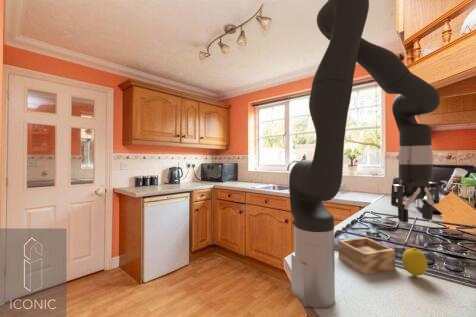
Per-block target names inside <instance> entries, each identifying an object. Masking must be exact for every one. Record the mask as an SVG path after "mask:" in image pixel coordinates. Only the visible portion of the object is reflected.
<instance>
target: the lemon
mask: <svg viewBox="0 0 476 317" xmlns="http://www.w3.org/2000/svg"><path fill="white" fill-rule="evenodd" d="M401 259H402V260H401V261H402V265H403V268H404V270H406V272H407V273H409V274H411V276H413V277H416V278H417V276H423V275H424V274H425V273H426V272H427V270H428V261H427V257H426V256H425V254H424V253H423V252H422V251H420V250H419V249H417V248H416V247H411V248H408V249H406V250H404V252H403V254H402V258H401Z"/></svg>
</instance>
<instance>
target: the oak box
mask: <svg viewBox="0 0 476 317" xmlns="http://www.w3.org/2000/svg"><path fill="white" fill-rule="evenodd" d="M337 242H338V259H341V261H343V262H345V263H347V264H348V265H350V266H351V267H352V268H355V270H357V271H359V272H360V273H361V274H364V275H369V274H373V273H380V272H384V271H390V270H395V269H396V249H394V248H392V247H389V246H388V245H385V244H383V243H380V242H378V241H376V240H373V239H371V238H369V237H367V236H365V237H364V236H362V237H357V238H354V237H353V238H347V239H340V240H339V239H338V241H337Z"/></svg>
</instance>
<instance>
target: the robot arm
mask: <svg viewBox="0 0 476 317" xmlns="http://www.w3.org/2000/svg"><path fill="white" fill-rule="evenodd" d="M369 9H370V0H327V1H326V2H325V3H324V5H322V7H321V8H320V9H319V10H318V12H317V15H316V25H317V28H318V30H319V31H320V32H321V34H322V35H323V36H324V37H325V38H326V39H327V40H328V41H329V43H328V46H327V48H326V50H325V52H324V54H323V56H322V58H321V60H320V62H319V65H318V67H317V69H316V71H315V73H314V76H313V79H312V83H311V88H310V94H309V99H308V100H309V101H308V108H309V109H308V110H309V113H310V117H311V121H312V124H313V127H314V130H315V131H314V132H315V146H314V153H313V156H312V157H313V158H312V159H302V160H299V161H297V162H296V163H294V165H293V166H292V167H291V170H290V173H289V180H288V184H289V185H288V188H289V206H290V211H291V212H290V213H291V215H292V217H293V224H294V225H293V228H294V230H293V232H294V234H293V235H294V237H293V238H294V241H293V242H294V245H293V247H294V253H293V254H291V255H290V256H291V257H290V260H291V261H290V263H291V264H290V265H291V266H290V268H291V293H292V294H293V295H294V296H295V297H296V299H297V301H299V302H300V304H301V305H302V306H303V307H311V308H314V309H315V308H317V309H325V308H329V307H331V306H333V305H334V303H335V301H336V300H335V299H336V290H335V289H336V286H335V284H336V281H335V280H336V278H335V274H336V272H335V270H336V268H335V218H334V216H333V214H332V213H331V212H330V211H329V210H328V209H327V208H326V207H325V205H324V203H323V202H329V201H331V200H333V199H334V198H335V197H336V196H337V195H338V193H339V191H340V189H341V186H342V181H343V173H344V172H343V168H344V152H345V151H344V147H345V138H346V130H347V122H348V116H349V108H350V104H351V98H352V91H353V85H354V75H355V70H356V65H357V64H358V65H359V66H360V67H362V68H363V69H364V70H365V71H366V72H367V73H368V74H369V75H370V76H371V77H372V79H373V80H374V81H375V82H376V83H377V85H378V86H379V87H380V88H381V89H382V91H383V92H385V93H386V94H389V95H397V96H395V98H394V99H393V101H392V105H391V112H392V115H393V117H394V121H395V124H396V127H397V129H398V134H399V137H398V141H399V145H398V146H399V148H398V157H397V158H398V159H397V160H398V178H399V179H400V180H401V184H396V183H395V184H394V183H393V184H392V185H391V193H390V194H391V197H390V198H391V199H390V201H391V202H390V205H391V206H393V207H395V208H397V219H398V222H401V223H403V224H407V223H409V207H410V206H411V204H413V203H414V202H415V200H416V201H417V200H420V202H421V204H422V205H421V213H422V214H421V218H422V219H424V220H427V221H431V220H433V213H434V212H433V210H434V209H433V208H434V207H435V205H436V204H437V205H438V204H440V189H439V188H440V187H439V186H440V185H439V183H438V182H434V181H432V180H433V179H434V153H433V149H432V147H433V145H432V128H431V126H430V125H429V124H427V123H418V122H417V119H416V116H421V115H426V114H430V113H433V112H435V111H436V110H437V109H438V107H439V105H440V103H441V97H440V94H439V91H438V90H437V89H436V87H434V86H433V85H432V84H430V83H428V82H427V81H426V80H423V79H422V78H420V76H418V75H416V74H414V73H412V72H411V70H410V69H409V68H408V67H407V66H406V64H405V63H404V62H403V61H402V60H401V59H400V57H399V56H398V55H397V54H396V53H394V52H393V51H391V50H389V49H387V48H386V47H385V48H384V47H383V46H380V45H377V44H375V43H372V42H371V41H368V40H366V39H364V38H363V37H362V36H363V34H364V28H365V25H366V23H367V22H366V21H367V18H368V14H369Z"/></svg>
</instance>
